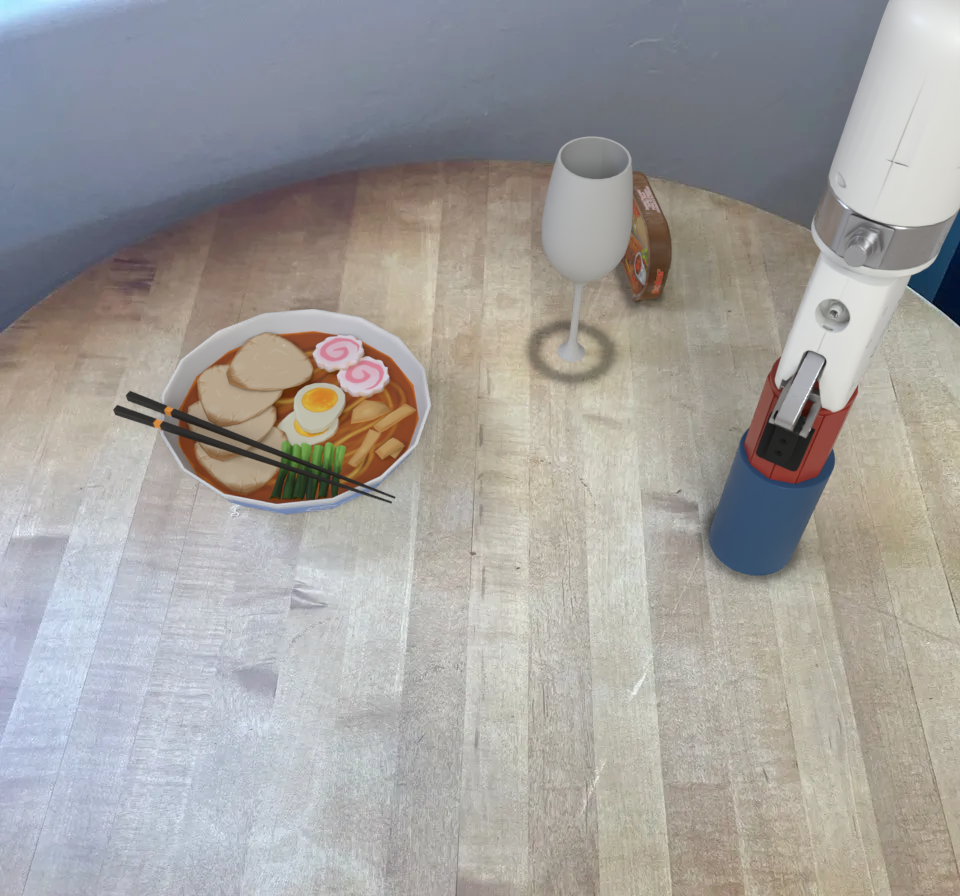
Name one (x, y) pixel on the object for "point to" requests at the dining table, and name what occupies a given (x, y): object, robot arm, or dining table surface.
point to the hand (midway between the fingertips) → (795, 429)
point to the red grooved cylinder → (819, 445)
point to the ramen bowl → (292, 410)
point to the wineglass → (587, 218)
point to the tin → (647, 243)
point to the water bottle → (762, 516)
